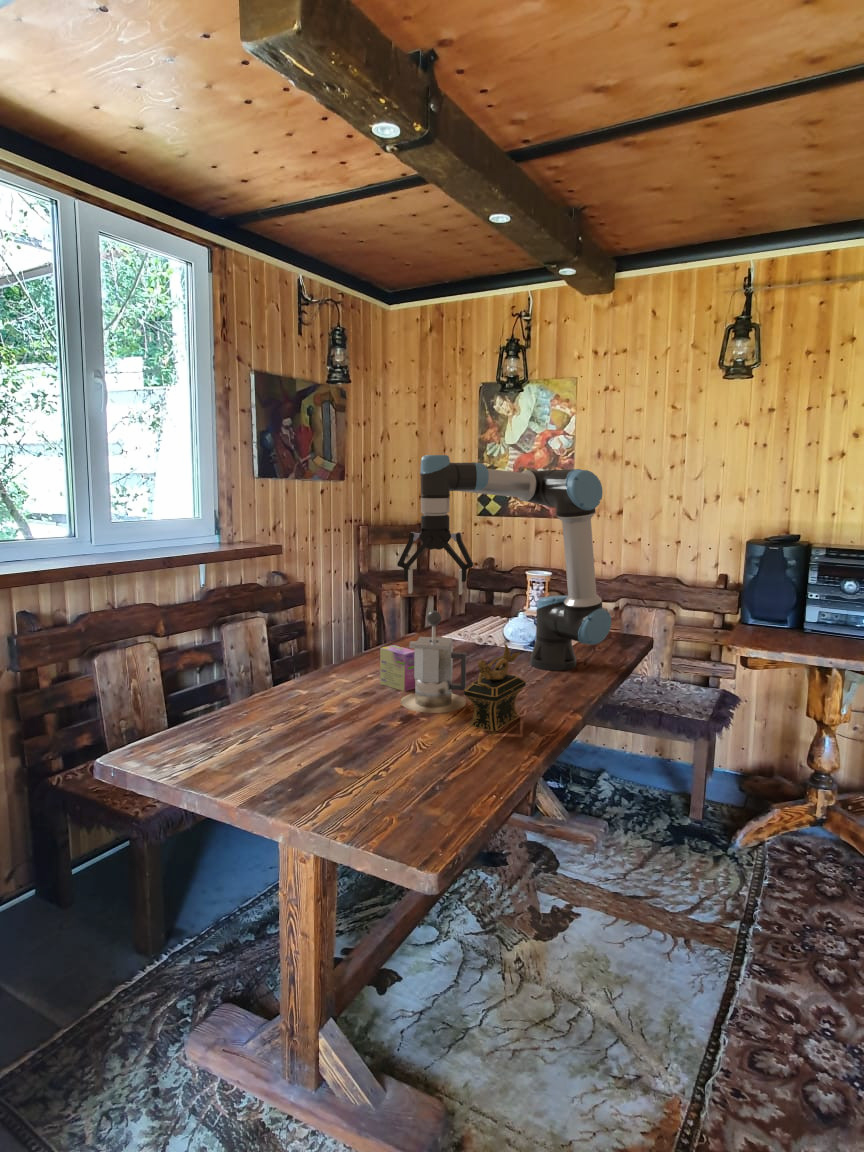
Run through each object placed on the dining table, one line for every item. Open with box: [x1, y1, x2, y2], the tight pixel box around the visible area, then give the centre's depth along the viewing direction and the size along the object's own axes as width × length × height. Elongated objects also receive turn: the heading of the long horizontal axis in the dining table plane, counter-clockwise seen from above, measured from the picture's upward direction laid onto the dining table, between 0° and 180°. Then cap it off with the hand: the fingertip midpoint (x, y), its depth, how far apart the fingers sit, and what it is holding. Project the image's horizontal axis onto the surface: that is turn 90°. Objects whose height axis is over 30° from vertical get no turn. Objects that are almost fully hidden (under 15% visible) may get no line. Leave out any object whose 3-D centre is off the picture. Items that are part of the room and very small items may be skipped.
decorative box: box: [463, 642, 527, 735], centre depth 178 cm, size 20×10×20 cm, turn 146°
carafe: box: [408, 636, 467, 708], centre depth 191 cm, size 15×10×17 cm, turn 82°
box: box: [379, 644, 415, 692], centre depth 206 cm, size 10×6×12 cm, turn 47°
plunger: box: [426, 610, 442, 642], centre depth 190 cm, size 4×4×17 cm
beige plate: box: [400, 692, 467, 714], centre depth 192 cm, size 18×18×1 cm
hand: (435, 593), depth 188 cm, fingers open, 13 cm apart
